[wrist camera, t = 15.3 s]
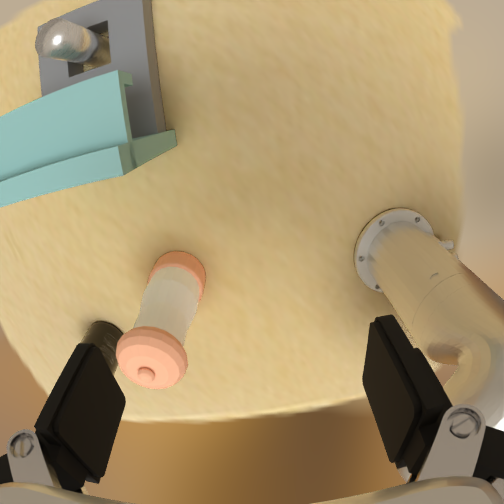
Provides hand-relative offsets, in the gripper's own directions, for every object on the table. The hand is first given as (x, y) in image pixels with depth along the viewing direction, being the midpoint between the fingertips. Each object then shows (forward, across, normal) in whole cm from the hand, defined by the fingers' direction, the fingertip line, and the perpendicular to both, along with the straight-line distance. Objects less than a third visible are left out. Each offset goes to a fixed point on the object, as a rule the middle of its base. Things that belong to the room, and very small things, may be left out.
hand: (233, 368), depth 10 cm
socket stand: (+30, +15, -15) cm, 37 cm away
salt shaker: (+31, +10, +12) cm, 34 cm away
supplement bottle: (+31, +25, +22) cm, 45 cm away
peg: (+30, +15, -19) cm, 39 cm away
